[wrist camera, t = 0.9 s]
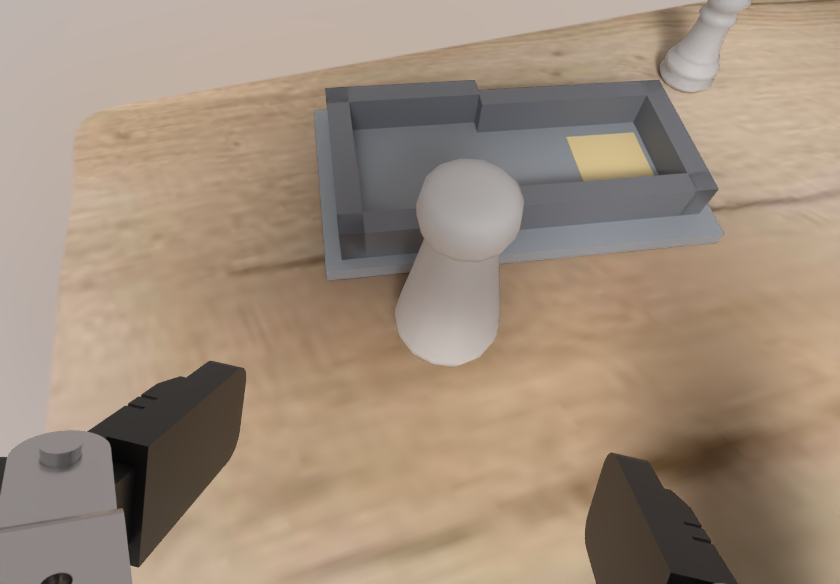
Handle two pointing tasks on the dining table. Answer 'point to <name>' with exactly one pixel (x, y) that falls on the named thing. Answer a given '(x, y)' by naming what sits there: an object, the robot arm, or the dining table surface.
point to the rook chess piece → (701, 47)
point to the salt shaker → (458, 261)
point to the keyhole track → (510, 168)
